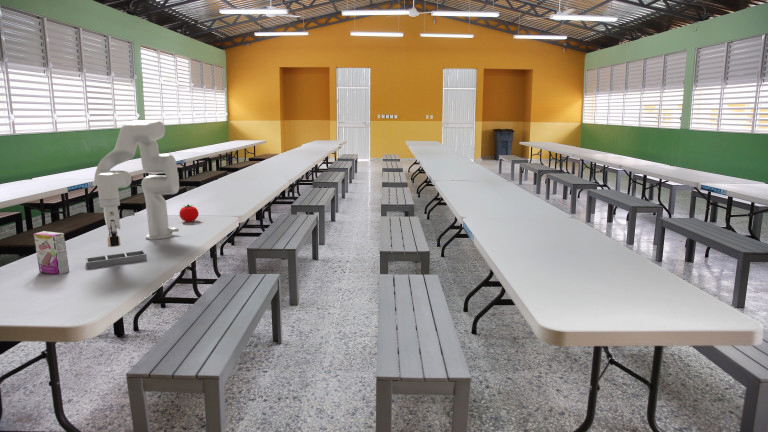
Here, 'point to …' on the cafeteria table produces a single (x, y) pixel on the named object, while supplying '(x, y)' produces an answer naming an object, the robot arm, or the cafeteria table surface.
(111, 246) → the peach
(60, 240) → the candy bar box
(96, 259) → the tray
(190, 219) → the tomato
